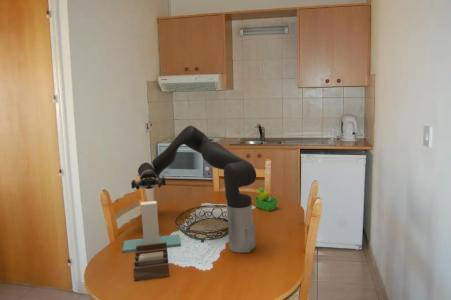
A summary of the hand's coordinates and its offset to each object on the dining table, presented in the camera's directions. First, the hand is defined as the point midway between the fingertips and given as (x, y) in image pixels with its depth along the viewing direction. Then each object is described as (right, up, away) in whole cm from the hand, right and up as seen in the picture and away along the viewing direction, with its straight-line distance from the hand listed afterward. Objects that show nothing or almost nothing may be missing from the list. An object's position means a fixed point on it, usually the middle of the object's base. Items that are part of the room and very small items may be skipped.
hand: (148, 186), depth 155 cm
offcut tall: (+8, -26, -31) cm, 41 cm away
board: (+3, -23, -6) cm, 24 cm away
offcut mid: (+7, -25, -27) cm, 38 cm away
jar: (+37, -19, +18) cm, 45 cm away
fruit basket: (+52, -15, +36) cm, 65 cm away
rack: (+6, -26, -24) cm, 36 cm away
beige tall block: (+3, -21, -6) cm, 22 cm away
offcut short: (+6, -25, -23) cm, 35 cm away
